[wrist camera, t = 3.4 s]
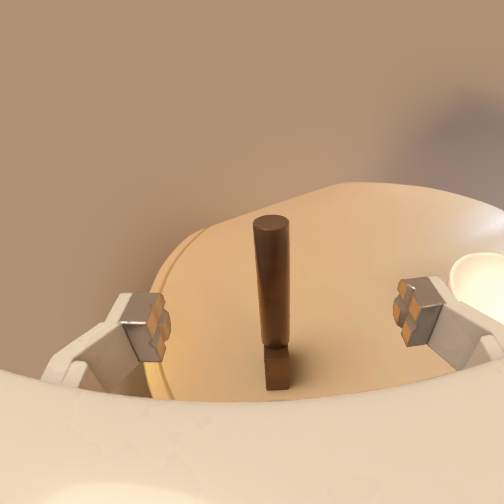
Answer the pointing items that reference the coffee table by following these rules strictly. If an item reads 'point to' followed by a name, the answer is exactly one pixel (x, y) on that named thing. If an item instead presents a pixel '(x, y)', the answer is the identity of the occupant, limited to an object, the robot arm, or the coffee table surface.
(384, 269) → the coffee table surface
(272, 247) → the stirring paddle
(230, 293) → the coffee table surface
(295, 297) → the coffee table surface
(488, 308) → the bowl
